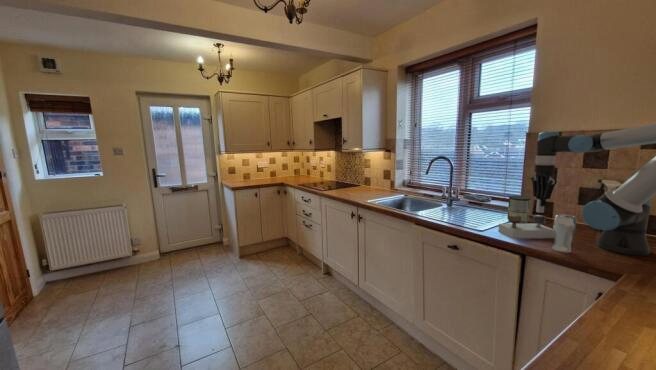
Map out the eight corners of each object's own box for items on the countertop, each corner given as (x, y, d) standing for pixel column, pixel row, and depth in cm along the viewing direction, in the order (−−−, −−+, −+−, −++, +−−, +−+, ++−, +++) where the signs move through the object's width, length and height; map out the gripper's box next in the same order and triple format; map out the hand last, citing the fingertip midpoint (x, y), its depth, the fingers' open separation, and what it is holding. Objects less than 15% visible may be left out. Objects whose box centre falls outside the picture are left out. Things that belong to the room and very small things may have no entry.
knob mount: (554, 238, 126) (555, 230, 126) (512, 238, 127) (513, 230, 126) (537, 230, 137) (538, 223, 137) (498, 231, 138) (499, 223, 137)
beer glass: (550, 250, 112) (554, 216, 110) (551, 245, 117) (555, 212, 115) (572, 254, 108) (577, 219, 105) (572, 249, 113) (576, 215, 110)
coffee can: (503, 217, 162) (505, 195, 160) (521, 218, 161) (523, 195, 159) (513, 222, 152) (515, 198, 150) (532, 223, 151) (535, 198, 149)
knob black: (547, 229, 129) (548, 217, 128) (537, 229, 129) (538, 217, 128) (539, 226, 134) (540, 214, 133) (529, 226, 134) (530, 214, 133)
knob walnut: (522, 229, 129) (523, 217, 128) (512, 229, 129) (513, 217, 129) (515, 226, 134) (516, 214, 133) (505, 226, 134) (506, 214, 133)
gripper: (564, 165, 120) (558, 215, 124) (542, 163, 133) (537, 208, 137) (547, 165, 121) (542, 215, 124) (527, 163, 133) (522, 209, 137)
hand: (539, 212), depth 130 cm, fingers closed
